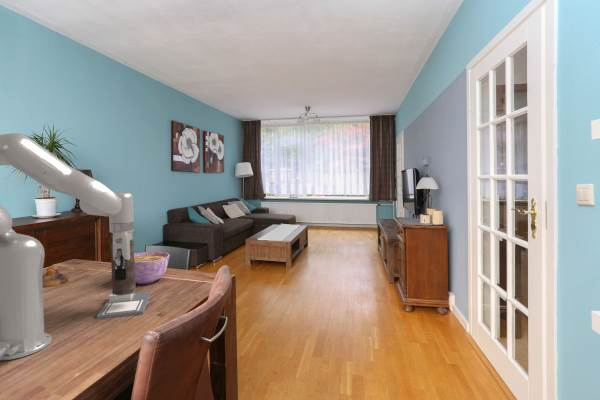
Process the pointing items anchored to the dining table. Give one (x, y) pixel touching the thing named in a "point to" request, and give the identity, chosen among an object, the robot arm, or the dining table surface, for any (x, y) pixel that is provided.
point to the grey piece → (124, 305)
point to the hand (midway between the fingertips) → (123, 275)
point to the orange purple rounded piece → (53, 277)
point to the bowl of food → (150, 266)
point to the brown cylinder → (129, 283)
